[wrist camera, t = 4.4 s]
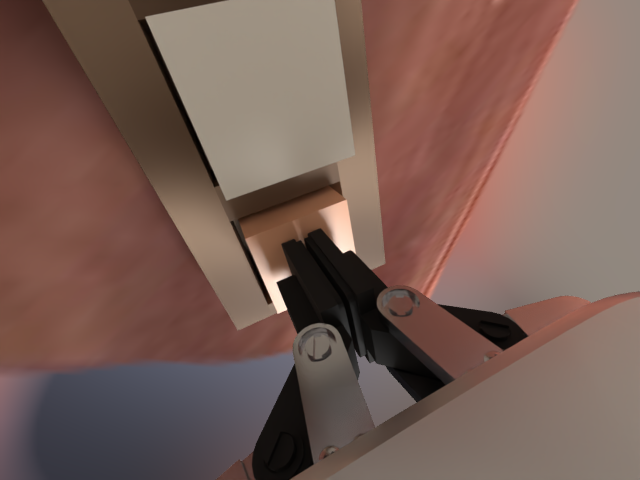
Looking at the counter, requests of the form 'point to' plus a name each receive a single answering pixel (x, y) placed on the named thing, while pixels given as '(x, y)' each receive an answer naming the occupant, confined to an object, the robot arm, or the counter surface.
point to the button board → (189, 156)
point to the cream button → (260, 86)
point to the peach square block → (294, 232)
